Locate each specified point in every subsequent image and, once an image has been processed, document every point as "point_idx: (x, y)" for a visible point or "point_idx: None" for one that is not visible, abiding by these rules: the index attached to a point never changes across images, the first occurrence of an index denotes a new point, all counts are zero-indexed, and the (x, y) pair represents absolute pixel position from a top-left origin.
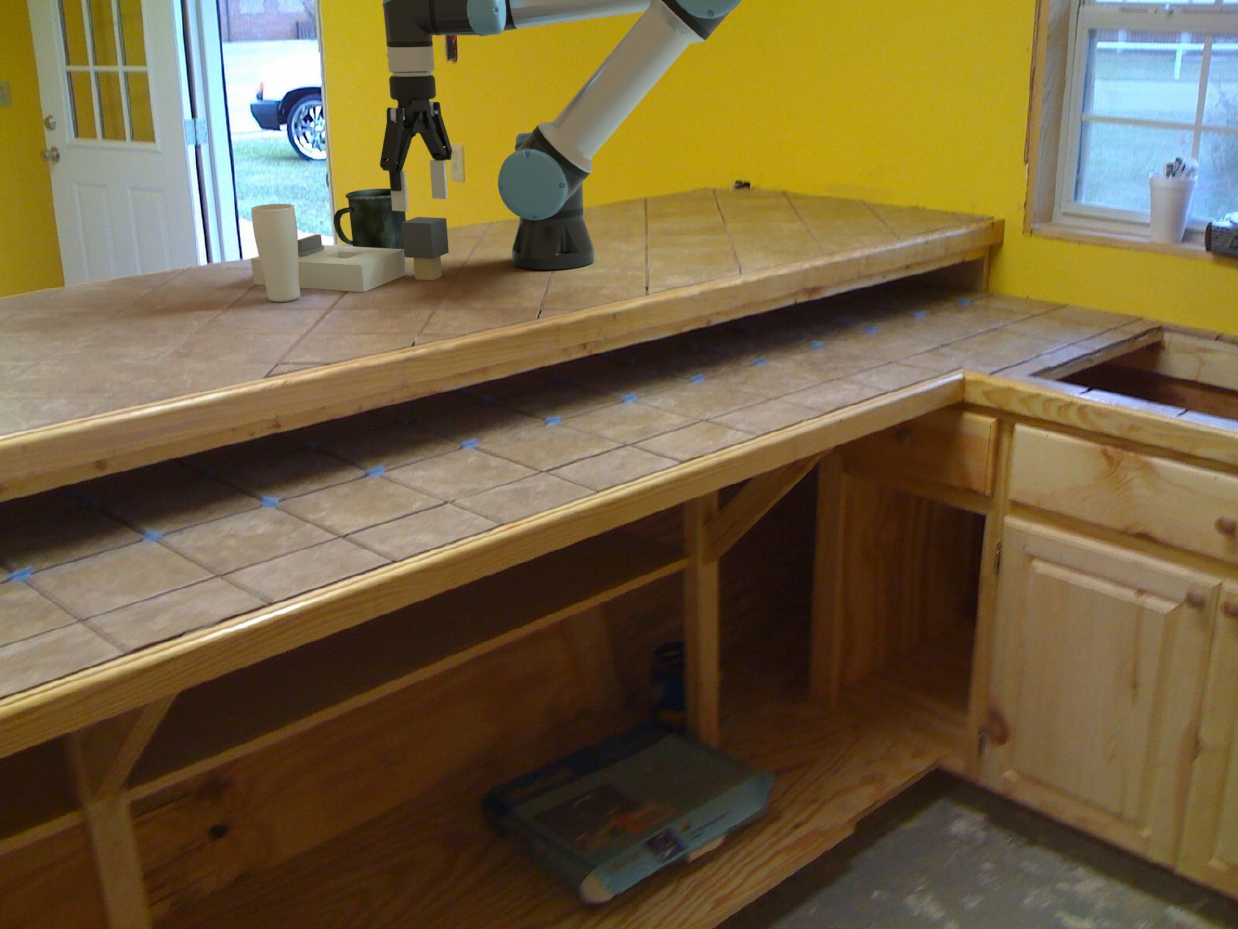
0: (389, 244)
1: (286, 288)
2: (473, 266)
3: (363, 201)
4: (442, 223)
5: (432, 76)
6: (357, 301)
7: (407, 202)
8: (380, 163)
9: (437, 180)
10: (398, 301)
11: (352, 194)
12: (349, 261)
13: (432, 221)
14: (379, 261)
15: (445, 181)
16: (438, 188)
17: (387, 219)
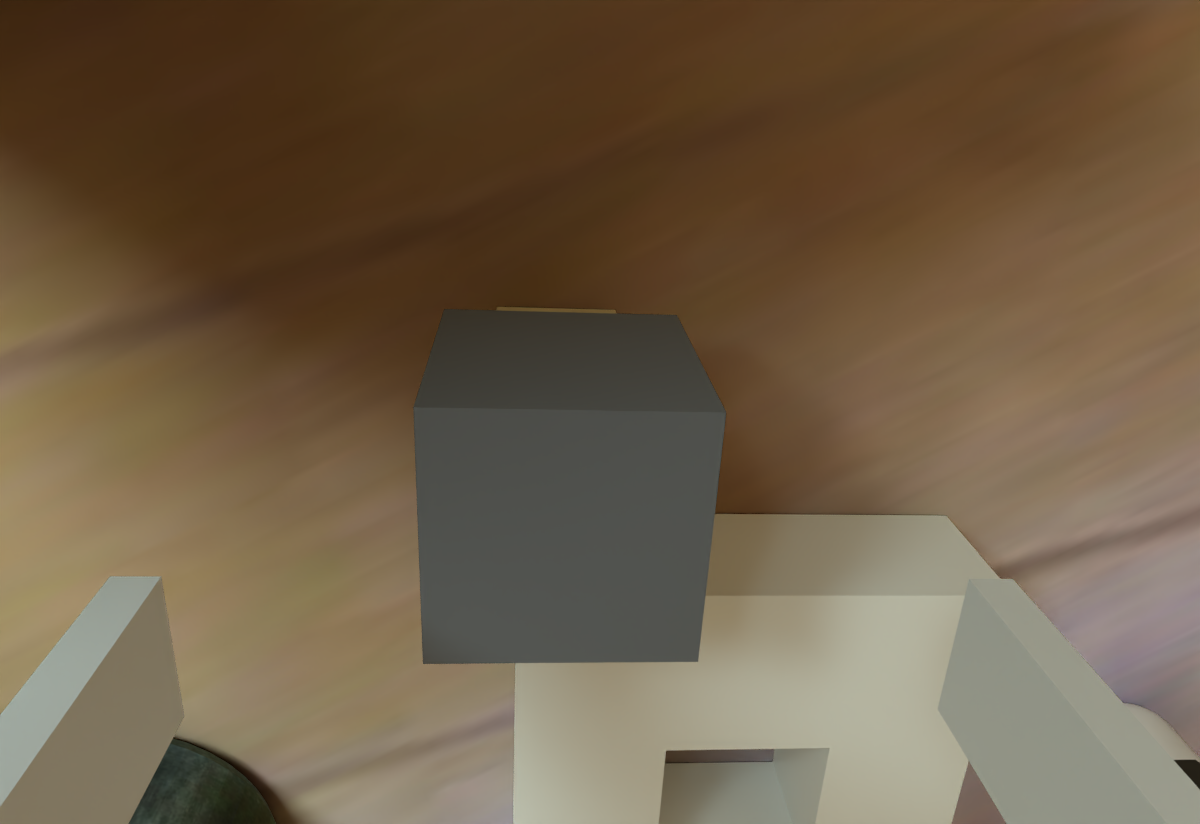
0: (187, 814)
1: (1195, 753)
2: (163, 239)
3: None
4: (496, 394)
5: None
6: (1139, 448)
7: (1025, 629)
8: None
9: (82, 809)
10: (1145, 246)
11: None
12: (911, 701)
13: (614, 445)
14: (815, 585)
15: (45, 712)
16: (125, 727)
17: None
